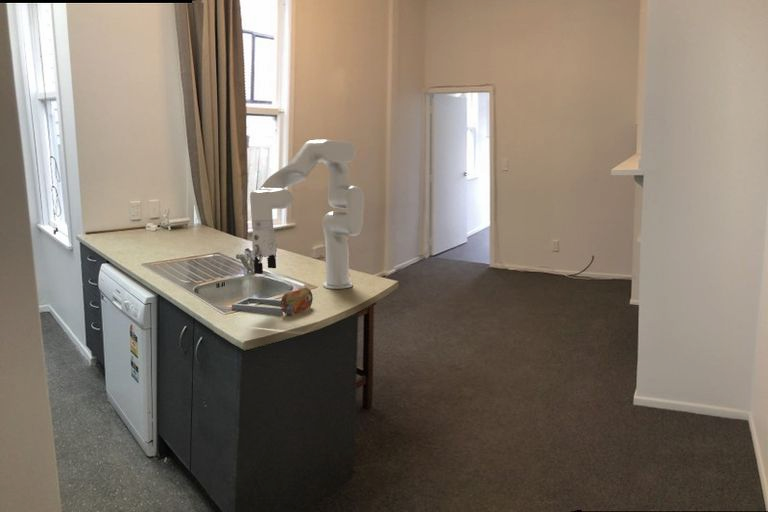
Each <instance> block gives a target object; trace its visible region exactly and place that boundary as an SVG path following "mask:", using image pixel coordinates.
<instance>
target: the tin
mask: <svg viewBox="0 0 768 512" xmlns="http://www.w3.org/2000/svg"><path fill="white" fill-rule="evenodd" d="M280 300H281V307H280V308H282V311H283V314H285V315H290V316H294V315H295V316H296V315H297V314H299V313H303V312H304V311H307V310H309V309H310V308H311V307H312V304H313V300H314V299H313V294H312V290H311V289H310V288H308V287H299V288H296V289H293V290H290V291H287V292H285V293H284V294H283V296H282V297H281V299H280Z"/></svg>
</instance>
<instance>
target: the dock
mask: <svg viewBox="0 0 768 512" xmlns="http://www.w3.org/2000/svg"><path fill="white" fill-rule="evenodd" d="M281 300H282V299H276V298H274V299H273V298H262V297H261V298H260V297H250V296H249V297H248V296H247V297H246V298H243V299H241V300H239V301H236V302H234V303H232V304H231V309H232V310H236V311H244V312H252V313H259V314H268V315H269V314H270V315H276V316H283V314H284V312H283V311H282V307H278V306H281ZM257 302H259V303H257ZM248 303H257V304H263V305H264V306H263V305H255V304H253V305H252V304H248ZM265 304H266V305H265ZM268 305H273V306H268Z"/></svg>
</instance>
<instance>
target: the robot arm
mask: <svg viewBox="0 0 768 512" xmlns="http://www.w3.org/2000/svg"><path fill="white" fill-rule="evenodd" d="M356 155H357V149H356V147H355V145H354V144H353V143H352V142H351V141H345V140H344V141H343V140H331V139H314V140H309V141H306V142H305V143H304V144H303V145H302V147H300V149H299V150H298V151H297V152H296V154H295V155H294V156H293V158H292V159H291V161H290V162H288V163H287V165H285V166H284V167H282V168H280V169H279V170H278V171H276V172H274V173H273V174H272V175H269V177H268V178H267V179H266V180H265V181H264V182H263V183H262V185H261V186H260V188H259V189H258V190H252V191H251V192H250V194H249V201H250V202H249V203H250V215H251V216H250V217H251V228H252V234H251V235H252V237H251V240H252V241H251V246H252V248H251V249H252V250H251V252H250V258H251V261H252V263H253V272H254V274H256V275H263V274H264V270H263V262H262V261H263V258H267V260H266V261H267V268H268V269H276V268H277V260H276V259H277V252H278V244H277V237H276V232H275V228H274V220H273V219H274V217H273V210H274V209H275V210H276V209H277V210H278V209H279V210H283V209H287V208H288V207H290V206H291V204H293V199H294V198H293V194H292V193H291V191H289V190H288V189H286V188H287V187H289V186H293V185H296V184H298V183H300V182H304V181H305V180H307V178H308V177H309V175H310V174H311V172H312V171H313V170H314V169H315V167H317V165H318V164H319V163H323V164H324V165H325V166H326V168H327V171H328V189H327V190H328V191H327V202H328V205H329V206H330V207H332V208H335V209H344V210H346V211H337V210H333V211H329V212H327V213H326V214H325V215H324V216H323V218H322V229H323V233H324V234H323V235H324V240H325V241H324V242H325V270H326V271H325V275H326V276H325V277H326V278H325V280H326V281H325V282H323V283H322V287H323V288H325V289H331V290H341V289H349V288H352V287H353V281H350V277H351V274H350V270H349V269H350V268H349V266H350V265H349V264H350V263H349V257H350V256H349V243H348V242H349V241H348V239H347V237H346V236H348V237H355V236H358V235H360V233H361V231H362V230H363V225H364V213H365V196H364V195H365V193H364V191H363V190H362V189H361V188H360V187H359V186H356V185H350V170H349V168H348V166H347V164H349V163H352V162H353V161H354V160H355V159H356Z"/></svg>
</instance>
